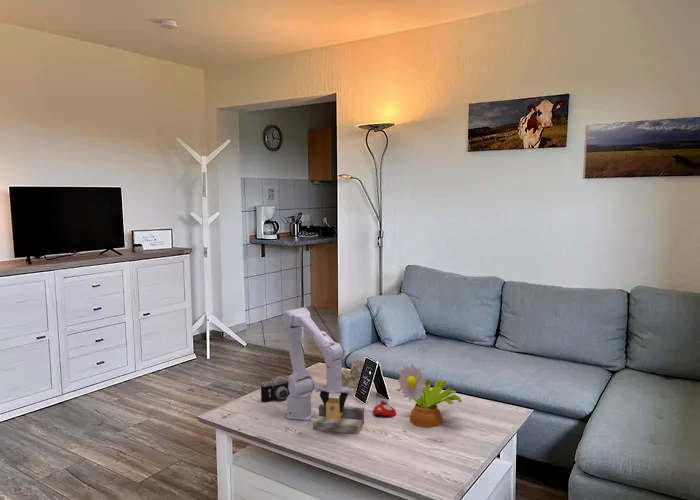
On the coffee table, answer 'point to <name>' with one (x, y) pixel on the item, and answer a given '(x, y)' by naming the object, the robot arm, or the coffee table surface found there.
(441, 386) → the decorative plant
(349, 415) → the board
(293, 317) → the robot arm
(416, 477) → the coffee table surface
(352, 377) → the rough stone chunk
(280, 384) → the camera
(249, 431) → the coffee table surface
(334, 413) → the cabinet block
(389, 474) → the coffee table surface
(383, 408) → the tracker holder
